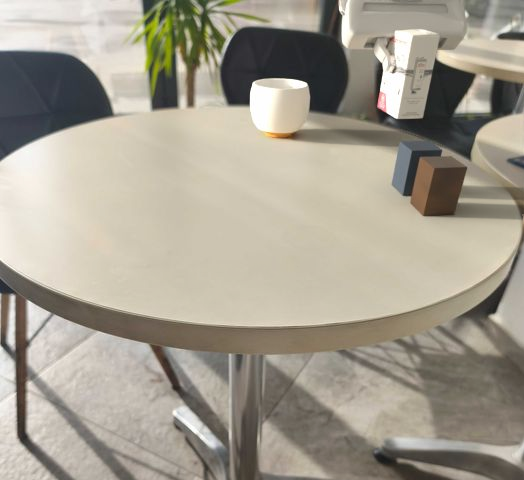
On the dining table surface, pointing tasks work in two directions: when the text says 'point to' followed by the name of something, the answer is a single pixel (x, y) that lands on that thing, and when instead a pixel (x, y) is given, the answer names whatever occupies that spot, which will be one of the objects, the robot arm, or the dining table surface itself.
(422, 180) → the walnut block
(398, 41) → the ink box
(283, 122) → the cup
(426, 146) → the slate block
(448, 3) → the robot arm
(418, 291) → the dining table surface
